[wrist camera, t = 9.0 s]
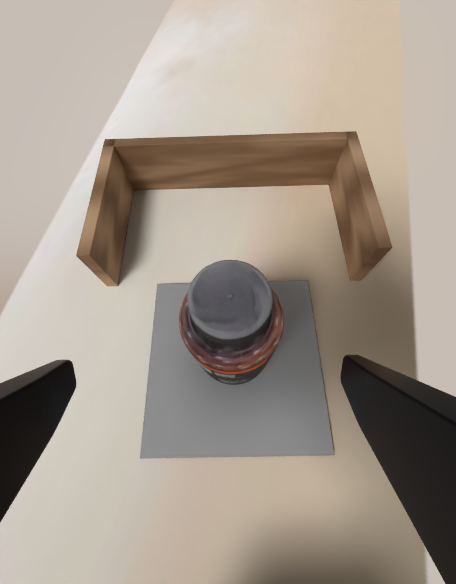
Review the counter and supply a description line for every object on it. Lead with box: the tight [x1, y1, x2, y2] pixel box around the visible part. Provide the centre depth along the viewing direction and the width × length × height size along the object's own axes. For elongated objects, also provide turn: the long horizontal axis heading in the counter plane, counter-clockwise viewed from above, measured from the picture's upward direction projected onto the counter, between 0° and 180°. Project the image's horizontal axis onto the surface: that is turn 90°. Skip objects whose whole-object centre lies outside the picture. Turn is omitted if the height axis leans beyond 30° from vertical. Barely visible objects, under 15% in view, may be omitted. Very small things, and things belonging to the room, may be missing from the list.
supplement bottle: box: [179, 260, 284, 385], centre depth 17 cm, size 6×6×11 cm
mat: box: [140, 280, 334, 458], centre depth 22 cm, size 14×14×1 cm
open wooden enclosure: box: [76, 131, 392, 286], centre depth 26 cm, size 13×24×6 cm, turn 91°
